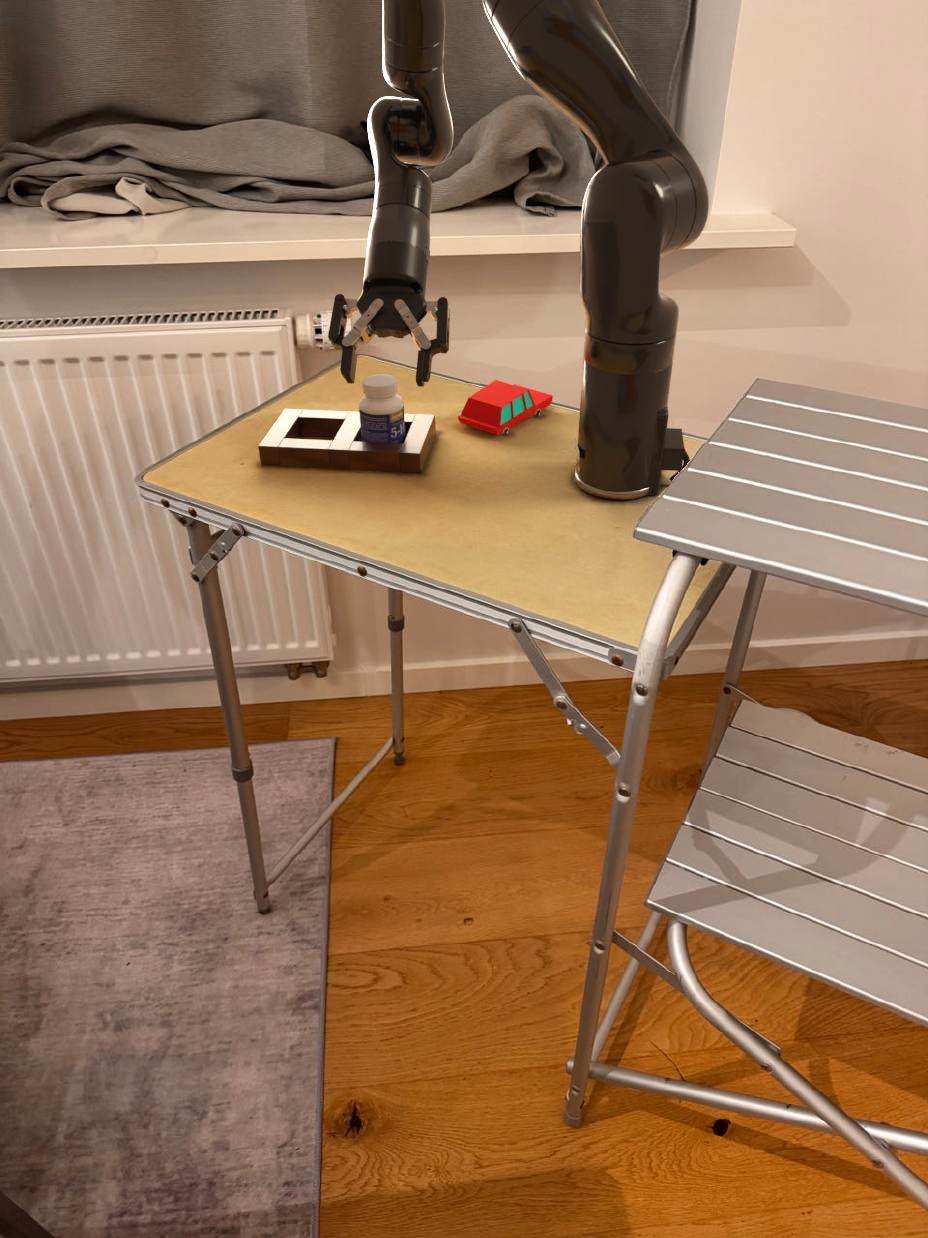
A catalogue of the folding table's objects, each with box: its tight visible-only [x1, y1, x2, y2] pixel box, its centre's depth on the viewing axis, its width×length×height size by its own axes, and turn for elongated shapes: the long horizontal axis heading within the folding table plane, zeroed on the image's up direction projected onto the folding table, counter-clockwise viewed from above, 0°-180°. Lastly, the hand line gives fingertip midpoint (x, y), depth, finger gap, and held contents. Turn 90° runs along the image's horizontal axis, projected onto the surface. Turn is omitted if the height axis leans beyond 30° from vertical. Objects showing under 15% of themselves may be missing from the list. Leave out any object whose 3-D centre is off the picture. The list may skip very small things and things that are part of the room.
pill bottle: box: [358, 373, 406, 444], centre depth 107 cm, size 5×5×9 cm
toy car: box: [457, 379, 554, 436], centre depth 115 cm, size 6×12×4 cm, turn 141°
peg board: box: [257, 408, 437, 474], centre depth 109 cm, size 19×11×2 cm, turn 82°
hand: (384, 382), depth 107 cm, fingers open, 8 cm apart
